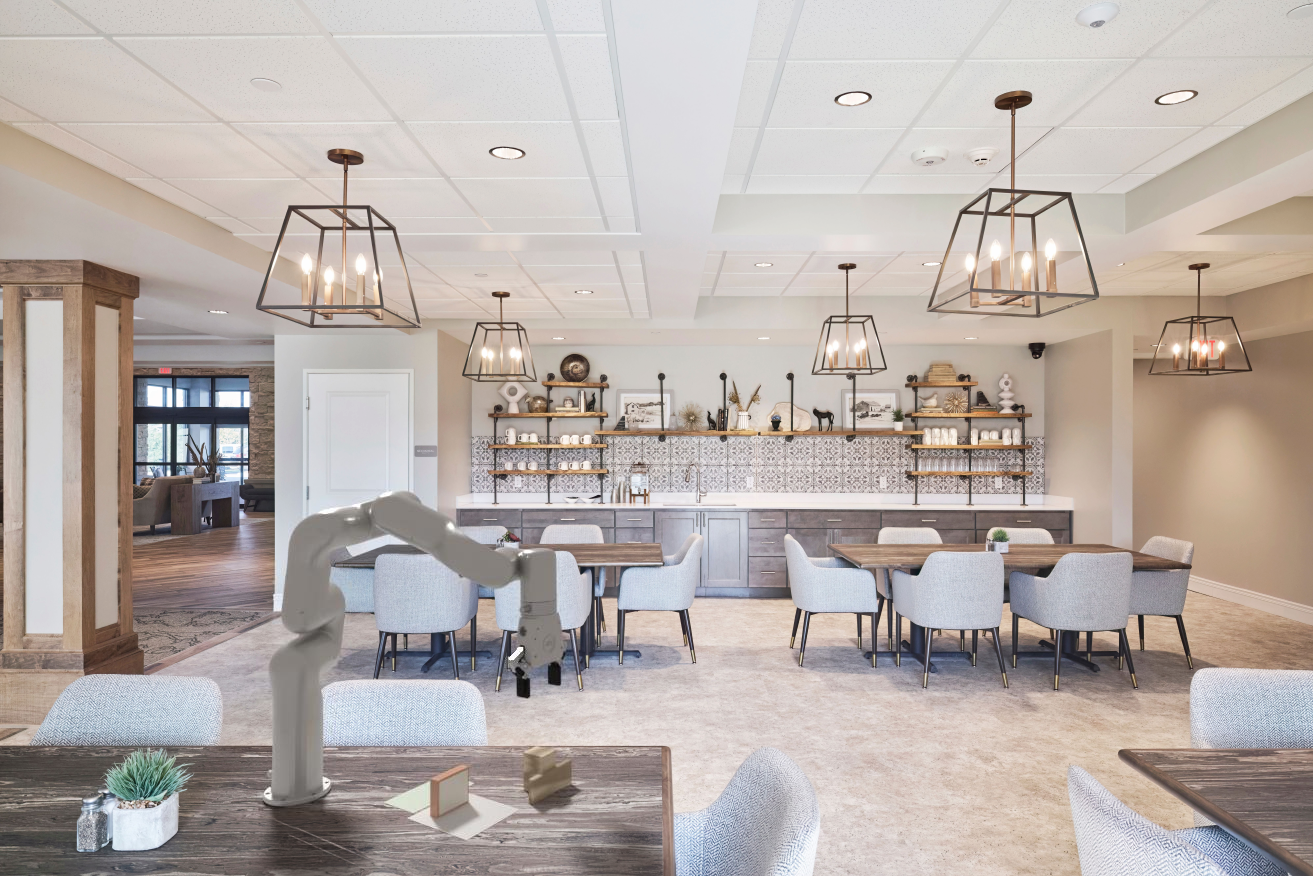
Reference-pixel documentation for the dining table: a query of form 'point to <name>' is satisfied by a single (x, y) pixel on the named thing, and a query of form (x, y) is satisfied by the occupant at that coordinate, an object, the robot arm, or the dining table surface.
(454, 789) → the tile
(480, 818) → the mat
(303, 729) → the robot arm
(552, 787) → the stepped beige block
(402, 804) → the pad
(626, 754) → the dining table surface
